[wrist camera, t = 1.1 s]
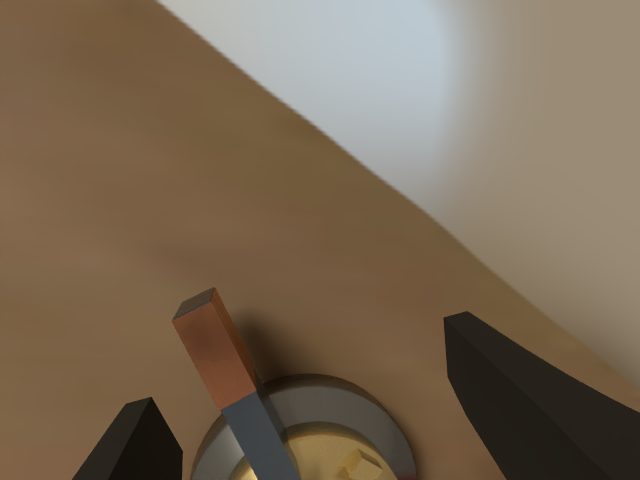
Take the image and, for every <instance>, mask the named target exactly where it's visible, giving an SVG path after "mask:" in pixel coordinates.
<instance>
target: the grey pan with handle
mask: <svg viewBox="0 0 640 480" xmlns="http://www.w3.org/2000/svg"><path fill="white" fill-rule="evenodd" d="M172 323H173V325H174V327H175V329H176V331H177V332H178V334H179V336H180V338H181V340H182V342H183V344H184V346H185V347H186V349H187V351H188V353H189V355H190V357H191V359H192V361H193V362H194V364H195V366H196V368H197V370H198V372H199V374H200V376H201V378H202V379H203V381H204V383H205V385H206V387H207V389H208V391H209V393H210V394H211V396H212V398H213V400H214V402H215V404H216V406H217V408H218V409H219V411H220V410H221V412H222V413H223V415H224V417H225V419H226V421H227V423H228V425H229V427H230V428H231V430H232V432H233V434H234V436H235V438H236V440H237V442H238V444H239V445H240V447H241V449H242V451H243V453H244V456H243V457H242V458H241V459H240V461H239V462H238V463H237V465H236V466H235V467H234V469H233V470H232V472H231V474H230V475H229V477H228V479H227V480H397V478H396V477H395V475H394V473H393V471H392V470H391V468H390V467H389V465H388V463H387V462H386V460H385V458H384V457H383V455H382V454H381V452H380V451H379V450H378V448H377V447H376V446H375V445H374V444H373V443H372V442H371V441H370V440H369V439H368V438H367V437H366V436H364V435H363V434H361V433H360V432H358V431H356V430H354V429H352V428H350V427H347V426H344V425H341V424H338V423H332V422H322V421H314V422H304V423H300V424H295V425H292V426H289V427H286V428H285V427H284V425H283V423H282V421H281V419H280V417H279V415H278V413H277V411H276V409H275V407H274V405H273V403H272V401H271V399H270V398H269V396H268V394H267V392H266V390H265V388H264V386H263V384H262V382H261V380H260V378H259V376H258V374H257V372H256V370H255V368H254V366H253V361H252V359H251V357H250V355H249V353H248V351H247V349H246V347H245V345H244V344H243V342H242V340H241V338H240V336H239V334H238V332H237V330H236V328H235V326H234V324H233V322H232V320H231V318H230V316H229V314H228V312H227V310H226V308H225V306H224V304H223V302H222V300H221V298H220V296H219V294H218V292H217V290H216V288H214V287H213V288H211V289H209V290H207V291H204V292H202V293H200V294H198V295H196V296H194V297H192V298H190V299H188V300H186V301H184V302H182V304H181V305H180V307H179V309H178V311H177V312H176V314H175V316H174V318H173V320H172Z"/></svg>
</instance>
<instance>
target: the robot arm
mask: <svg viewBox="0 0 640 480" xmlns="http://www.w3.org/2000/svg"><path fill="white" fill-rule="evenodd" d="M444 331H445V345H446V359H447V373H448V379H449V381H450V383H451V385H452V387H453V389H454V391H455V393H456V395H457V398H458V400H459V402H460V404H461V406H462V408H463V410H464V412H465V414H466V416H467V417H468V419H469V421H470V422H471V424H472V425H473V427H474V429H475V430H476V432H477V433H478V435H479V437H480V438H481V440H482V441H483V443H484V444H485V446H486V448H487V449H488V451H489V452H490V454H491V456H492V457H493V459H494V460H495V462H496V463H497V465H498V467H499V468H500V470H501V471H502V473H503V474H504V476H505V478H506V479H507V480H640V413H639V412H637V411H635V410H633V409H631V408H629V407H627V406H625V405H623V404H621V403H619V402H617V401H615V400H613V399H611V398H609V397H607V396H605V395H604V394H602V393H600V392H598V391H596V390H594V389H593V388H591V387H589V386H587V385H585V384H584V383H582V382H580V381H578V380H576V379H575V378H573V377H571V376H569V375H568V374H566V373H564V372H563V371H561V370H559V369H557V368H556V367H554V366H553V365H551V364H549V363H548V362H546V361H544V360H543V359H541V358H539V357H538V356H536V355H534V354H533V353H531V352H530V351H528V350H526V349H525V348H523V347H522V346H520V345H518V344H517V343H515V342H514V341H512V340H511V339H509V338H508V337H506V336H505V335H503V334H502V333H500V332H498V331H497V330H495V329H494V328H492V327H491V326H489V325H488V324H486V323H485V322H483V321H482V320H480V319H479V318H477V317H476V316H474V315H473V314H471V313H469V312H468V311H466V312H463V313H459V314H455V315H451V316H448V317H444ZM182 459H183V451H182V449H181V447H180V446H179V444H178V442H177V440H176V439H175V437H174V435H173V433H172V432H171V430H170V428H169V426H168V425H167V423H166V421H165V420H164V418H163V416H162V414H161V413H160V411H159V409H158V407H157V406H156V404H155V402H154V400H153V399H152V397H149V398H146V399H142V400H138V401H135V402H131V403H127V404H125V406H124V407H123V408H122V410H121V411H120V412H119V414H118V415H117V417H116V418H115V419H114V421H113V422H112V424H111V425H110V426H109V428H108V429H107V431H106V432H105V433H104V435H103V436H102V438H101V439H100V441H99V442H98V443H97V445H96V446H95V448H94V449H93V451H92V452H91V453H90V455H89V456H88V458H87V459H86V461H85V462H84V463H83V465H82V466H81V467H80V469H79V470H78V472H77V473H76V474H75V476H74V477H73V479H72V480H182Z"/></svg>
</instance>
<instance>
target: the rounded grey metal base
mask: <svg viewBox="0 0 640 480" xmlns="http://www.w3.org/2000/svg"><path fill="white" fill-rule="evenodd" d="M263 386H264V388H265V390H266V392H267V394H268V396H269V398H270V399H271V401H272V403H273V405H274V407H275V409H276V411H277V413H278V415H279V417H280V419H281V421H282V423H283V425H284V427H285V428H286V427H289V426H292V425H295V424H300V423H304V422H314V421H322V422H332V423H338V424H341V425H344V426H347V427H350V428H352V429H354V430H356V431H358V432H360V433H361V434H363V435H364V436H366V437H367V438H368V439H369V440H370V441H371V442H372V443H373V444H374V445H375V446H376V447H377V448H378V450H379V451H380V452H381V454H382V455H383V457H384V458H385V460H386V462H387V463H388V465H389V467H390V468H391V470H392V471H393V473H394V475H395V477H396V478H397V480H417V474H416V468H415V463H414V459H413V456H412V453H411V449H410V447H409V445H408V443H407V441H406V439H405V437H404V435H403V433H402V432H401V431H400V429H399V428H398V426H397V425H396V423H395V422H394V421H393V420H392V418H391V417H390V416H389V414H388V413H387V412H386V410H385V409H384V408H383V407H382V406H381V404H380V403H379V402H378V401H377V400H376V399H375V398H374V397H373V396H371V395H370V394H369V393H368V392H367V391H365V390H364V389H362V388H360V387H359V386H357V385H355V384H353V383H351V382H349V381H346V380H344V379H341V378H337V377H333V376H329V375H321V374H299V375H292V376H286V377H282V378H279V379H275V380H272V381H270V382H267V383H265V384H263ZM243 456H244V453H243V451H242V449H241V447H240V445H239V444H238V442H237V440H236V438H235V436H234V434H233V432H232V430H231V428H230V427H229V425H228V423H227V421H226V419H225V417H224V415H223V413H222V414H221V415H220V416H219V418H218V419H217V420H216V421H215V422H214V423H213V425H212V426H211V428H210V429H209V431H208V432H207V434H206V435H205V437H204V439H203V441H202V443H201V445H200V447H199V449H198V451H197V454H196V457H195V460H194V463H193V466H192V471H191V477H190V480H227V479H228V477H229V475H230V474H231V472H232V470H233V469H234V467H235V466H236V465H237V463H238V462H239V461H240V459H241V458H242V457H243Z"/></svg>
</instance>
